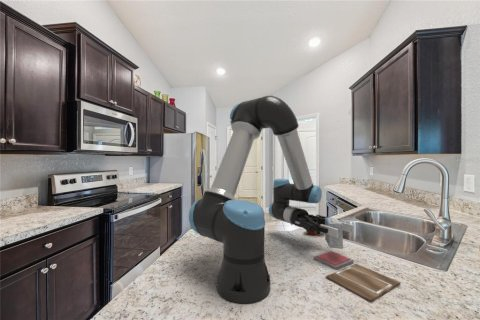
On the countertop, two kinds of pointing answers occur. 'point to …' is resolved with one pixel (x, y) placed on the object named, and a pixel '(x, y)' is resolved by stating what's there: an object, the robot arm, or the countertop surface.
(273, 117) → the robot arm
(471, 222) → the countertop surface
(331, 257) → the ink pad
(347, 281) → the cutting board
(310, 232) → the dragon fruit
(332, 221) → the medicine box
